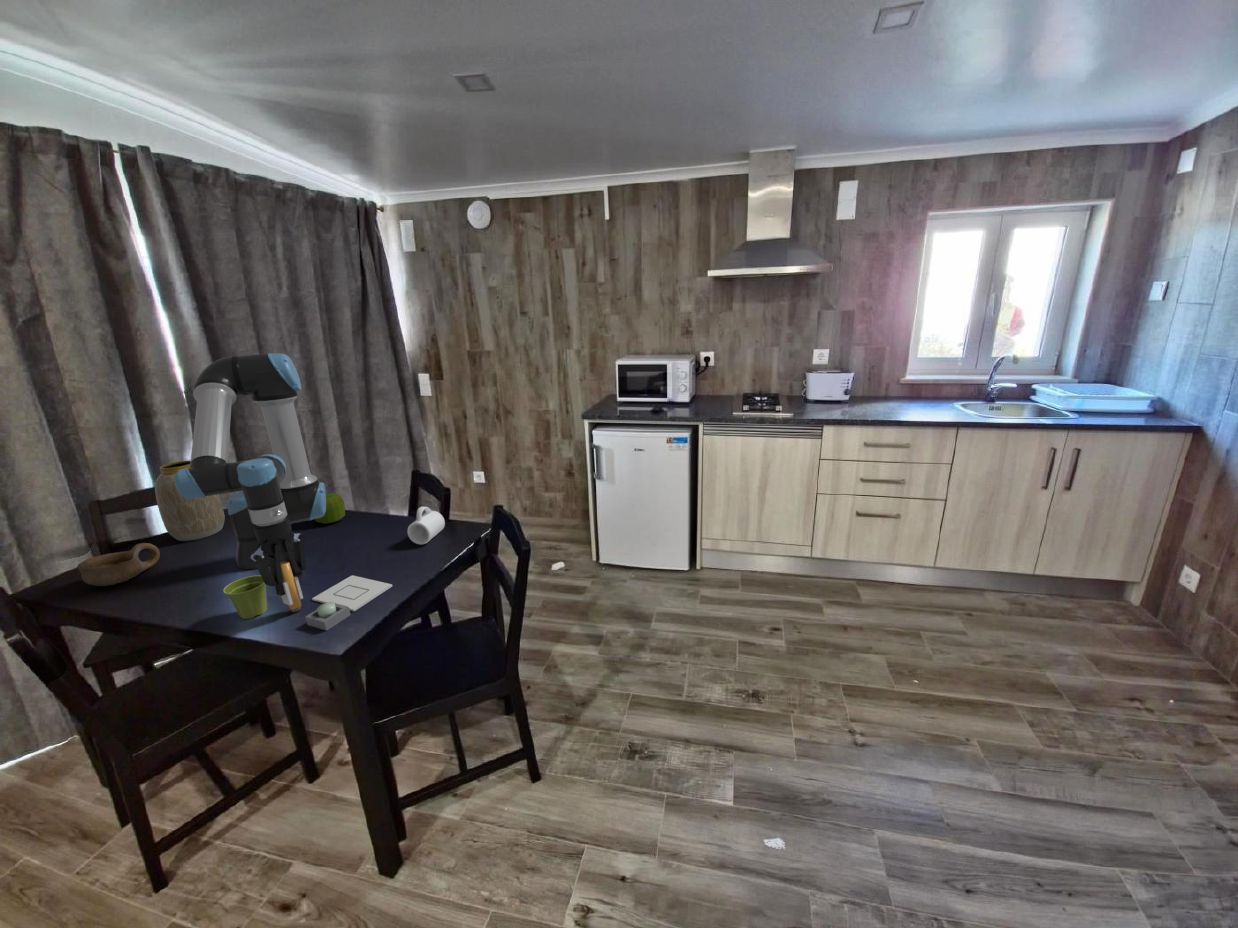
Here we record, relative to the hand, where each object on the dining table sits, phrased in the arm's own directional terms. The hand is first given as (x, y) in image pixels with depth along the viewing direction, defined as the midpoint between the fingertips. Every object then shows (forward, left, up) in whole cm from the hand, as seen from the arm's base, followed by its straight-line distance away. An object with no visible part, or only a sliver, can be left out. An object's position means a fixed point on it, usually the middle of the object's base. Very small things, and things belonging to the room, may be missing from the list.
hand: (293, 600), depth 132 cm
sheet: (+7, +12, -3) cm, 14 cm away
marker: (0, 0, -3) cm, 3 cm away
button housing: (+12, 0, -3) cm, 13 cm away
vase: (-85, +23, -3) cm, 88 cm away
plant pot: (-11, -4, -3) cm, 12 cm away
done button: (+12, 0, -2) cm, 12 cm away
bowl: (-71, -5, -4) cm, 71 cm away
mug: (+2, +47, -4) cm, 47 cm away
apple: (-46, +47, -3) cm, 65 cm away
